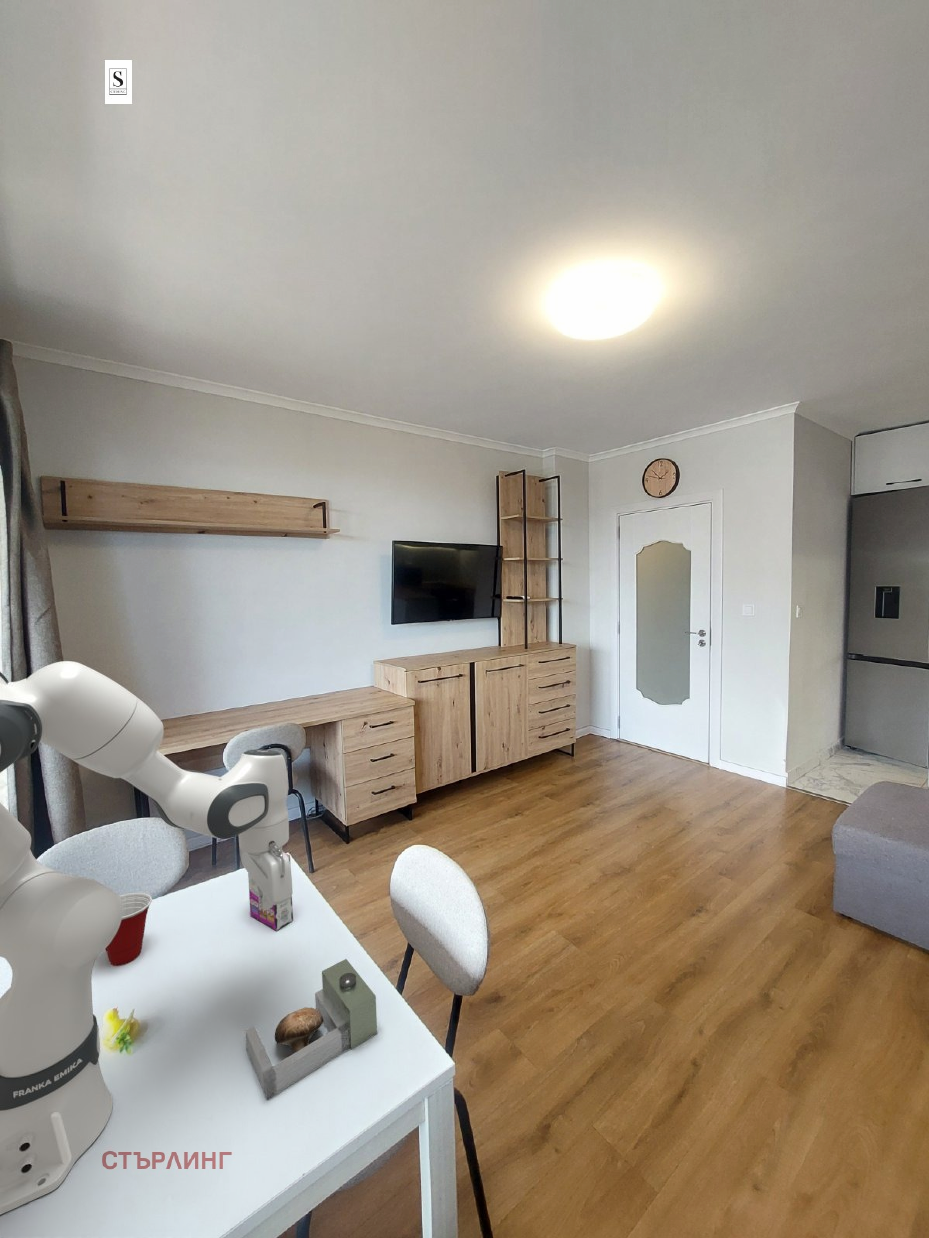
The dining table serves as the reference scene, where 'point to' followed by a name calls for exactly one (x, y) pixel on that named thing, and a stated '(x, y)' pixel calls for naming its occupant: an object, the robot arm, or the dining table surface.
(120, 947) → the plastic cup
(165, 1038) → the dining table surface
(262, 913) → the candy bar box
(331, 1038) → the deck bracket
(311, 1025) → the mushroom
